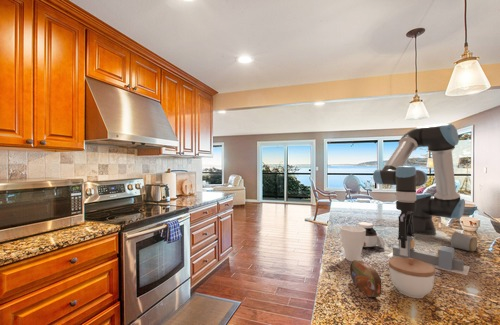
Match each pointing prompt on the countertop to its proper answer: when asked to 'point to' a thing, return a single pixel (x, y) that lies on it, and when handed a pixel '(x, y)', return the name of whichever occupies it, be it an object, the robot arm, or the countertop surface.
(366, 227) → the spread jar
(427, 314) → the countertop surface
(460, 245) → the grey cylinder
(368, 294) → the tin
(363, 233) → the cup
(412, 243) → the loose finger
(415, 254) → the rail board
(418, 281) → the lidded bowl
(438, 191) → the robot arm
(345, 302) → the countertop surface
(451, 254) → the fitted finger
